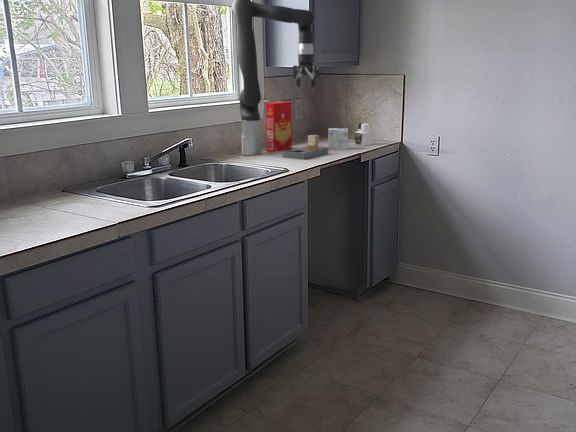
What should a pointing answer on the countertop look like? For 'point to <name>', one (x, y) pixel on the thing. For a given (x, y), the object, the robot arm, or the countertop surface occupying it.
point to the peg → (313, 141)
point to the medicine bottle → (363, 135)
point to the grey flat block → (305, 152)
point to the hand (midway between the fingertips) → (305, 87)
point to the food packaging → (278, 126)
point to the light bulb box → (338, 138)
